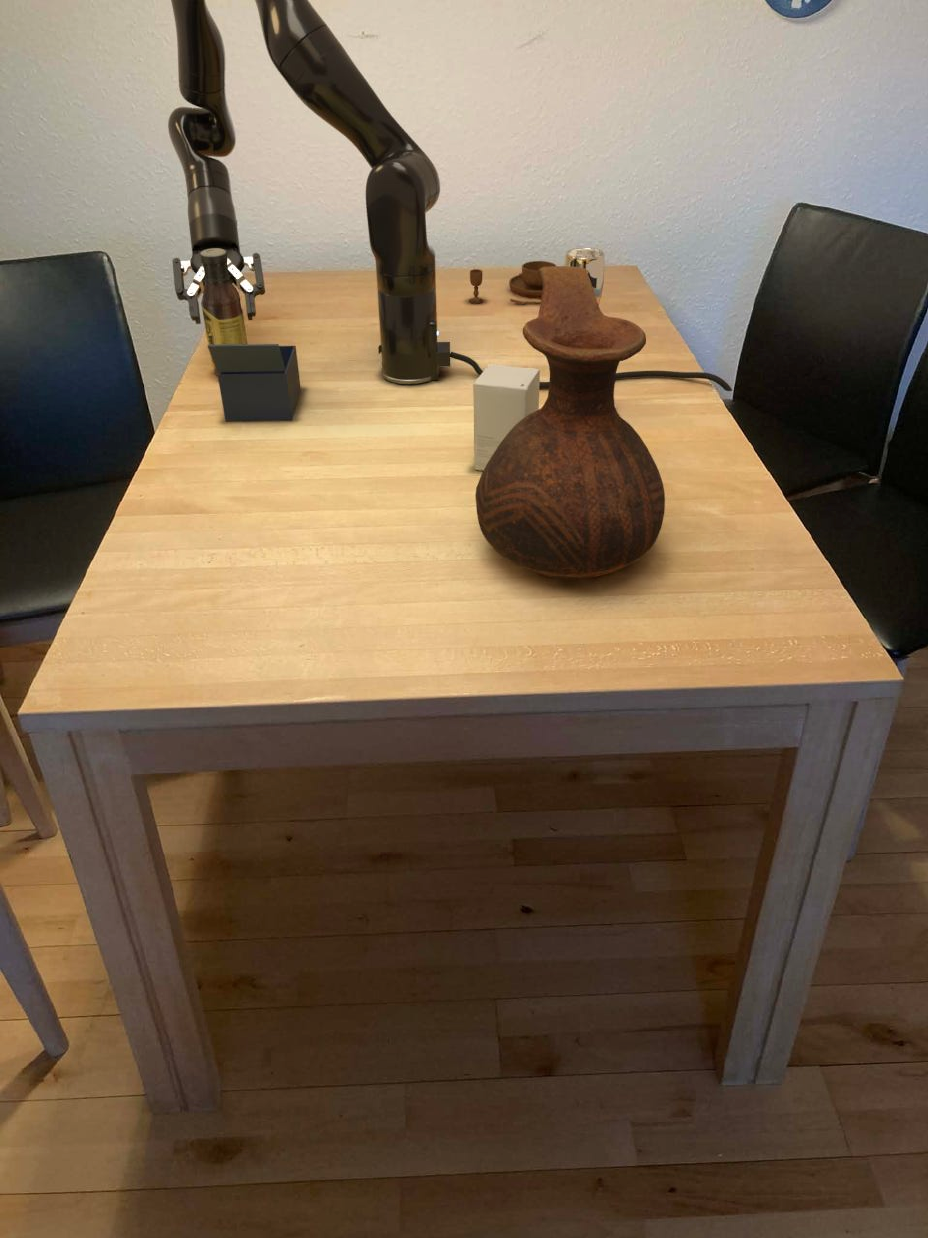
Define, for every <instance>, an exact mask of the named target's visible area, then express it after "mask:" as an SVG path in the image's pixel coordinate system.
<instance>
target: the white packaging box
mask: <svg viewBox="0 0 928 1238" xmlns="http://www.w3.org/2000/svg"><path fill="white" fill-rule="evenodd" d="M482 371H483V372H482V374H481V375H480V376H479V375H478V377H476V379H475V380H474V382H473V383H472V392H473V394H472V395H473V396H472V397H473V453H474V456H473V457H474V461H473V462H474V470H475V471H481V472H483V471H484V469H485V467H486V465H487V463H488V461H489V460H490V458H491V457H492V455H493V454H494V452H495V450H496V449H497V447H498V446H499V444H500V443H501V442H502V440H503V439H504V438H505V437H506V435H507V434H508V433H509V431H510V430H511V429H512V428H513V427H514V426H515V425H516V424H517V423H518V422H520V421H521V420H522V419H523V418H525V416H528V415H529V414H530V413H533V412H535V411H537V410H539V409H540V388H539V382H541V381H540V379H541V378H540V376H541V375H540V374H541V370H540V368H532V367H522V366H513V365H504V364H498V363H497V364H495V363H489V364H488V365H487V366H486V367H485V368H484V370H482Z"/></svg>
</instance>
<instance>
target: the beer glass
mask: <svg viewBox="0 0 928 1238" xmlns="http://www.w3.org/2000/svg"><path fill="white" fill-rule="evenodd" d="M564 259H565V260H564V266H569V267H582V268H585V269H586V271H587V273H588V275H589V278H590V281H591V284H592V287H593V290H594V293H595V297H596V300H597V303H598V306H599V307H600V303H601V302H600V301H601V298H602V293H603V288H604V281H605V252H604V250H601V249H598V248H593V247H575V248H571V249H568V250H566V251H565V258H564Z"/></svg>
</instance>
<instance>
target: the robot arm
mask: <svg viewBox="0 0 928 1238" xmlns="http://www.w3.org/2000/svg"><path fill="white" fill-rule="evenodd" d="M254 1H255V4H256V7H257V8H256V9H257V12H258V17H259V21H260V27H261V31H262V36H263V41H264V44H265V47H266V50H267V54H268V56H269V58H270V61H271V62H272V65H273V66H274V67H275V69H276V71H277V72H278V73H279V74H280V76H281V77H282V78H283V79H284V81H285V82H286V84H287V85H288V86H289V88H290V89H291V90H292V91H293V93H294V94H295V96H296V97H298V99H299V100H300V101H301V103H303V104H304V105H305V106H306V107H307V108H308V109H309V110H310V111H311V112H312V113H314V114H315V115H316V116H317V117H319V118H320V119H321V120H323V121H324V122H326V123H327V124H328V125H330V127H332V128H333V129H335V130H336V131H337V132H339V134H341V135H343V136H344V137H345V138H346V139H347V140H349V142H350V143H351V144H352V145H353V146H354V147H355V148H356V149H357V150H358V152H359V153H360V154H361V156H362V157H363V158H364V159H365V161H366V163H367V164H368V165H369V167H370V168H371V169H370V171H369V173H368V176H367V178H366V181H365V210H366V219H367V220H366V221H367V231H368V239H369V247H370V250H371V253H372V255H373V257H374V260H375V273H376V289H377V290H376V291H377V305H378V323H379V338H380V344H379V345H378V347H377V350H378V351H377V352H378V355H380V356H381V376H382V377H383V379H385V380H386V381H388V382H391V383H394V384H400V385H418V384H424V383H427V382H430V381H438V380H439V368H443V367H444V368H445V367H446V368H447V367H449V368H450V367H451V359H454V360H457V361H461V362H463V363H466V364H468V365H470V366H471V367H472V368H473V370H474V372H475V373H476V374H477V375H478V377H479V376H480V375H481V374H482V372H483V371H484V370H483V369H482V368H481V367H480V365H479V364H478V362H476V360H474V359H473V358H471V357H469V356H467V355H464V354H461V353H457V352H454V351H451V341H438V336H439V330H438V312H437V281H436V279H437V278H436V277H437V276H436V275H437V274H436V250H435V249H434V247H433V246H431V244H429V242H428V235H427V218H426V217H427V215H426V213H428V212H429V211H430V210H431V209H433V208H434V206H435V205H436V203H437V202H438V200H439V199H440V198H439V197H440V193H441V181H440V177H439V173H438V170H437V168H436V166H435V164H434V163H433V161H432V160H431V159H430V157H429V156H428V155H427V153H425V151H423V149H422V148H421V147H420V146H419V145H418V144H417V142H416V141H415V140H414V139H413V138H412V137H411V136H410V135H409V133H408V132H406V130H405V129H404V128H403V126H401V125H400V124H399V122H398V121H397V120H396V119H395V118H394V116H393V115H392V114H391V113H390V111H389V110H388V109H387V108H386V105H384V104H383V102H382V101H381V99H380V97H379V96H378V94H377V93H376V92H375V91H374V89H373V88H372V86H371V85H370V83H369V82H368V81H367V79H366V77H364V75H363V74H362V72H361V70H360V69H359V68H358V67H357V65H356V64H355V63H354V61H353V60H352V58H351V56H350V55H349V53H348V52H347V51H346V49H345V48H344V46H343V45H342V44H341V42H340V41H339V40H338V38H337V37H336V35H335V34H334V32H333V31H332V30H331V28H330V27H329V25H328V24H327V22H325V20H324V19H323V18H322V17H321V15H320V14H319V13H318V12H317V10H316V9H315V7H314V6H313V5H312V4H311V2H310V1H309V0H254ZM170 2H171V8H172V13H173V16H174V22H175V23H174V24H175V33H176V43H177V44H176V45H177V71H178V72H177V73H178V75H177V76H178V89H179V92H180V95H181V97H183V99H184V100H185V101H186V102H187V103H189V104H191V105H192V106H194V107H192V106H191V107H189V106H179V107H176V108H174V109H173V110H172V111H171V113H170V115H169V117H168V121H167V122H168V123H167V130H168V135H169V138H170V141H171V144H172V146H173V149H174V151H175V153H176V155H177V159H178V160H179V162H180V165H181V168H182V171H183V174H184V179H185V186H186V195H187V218H188V226H189V228H188V229H189V237H190V245H191V257H190V260H181V259H180V258H179V257H174V258H173V259H172V271H173V272H172V273H173V284H174V292H175V293H176V297H177V299H178V300H179V301H187V302H188V310H189V311H188V312H189V316H190V319H191V321H193V322H195V325H201V324H202V322H201V313H200V304H199V299H200V297H201V296H202V295H203V292H204V286H205V275H204V268H203V264H202V262H201V257H200V253H201V252H202V251H204V250H206V249H212V248H219V249H224V250H226V252H227V258H228V263H227V266H228V272H229V275H230V282H231V283H232V284H233V285H234V286H235V288H236V289H237V290H239V292H241V293H242V294H243V295H244V299H245V300H244V301H245V308H246V316H247V321H248V322H249V321H253V317H256V316H257V307H256V299H255V298H257V296H263V295H265V294H266V287H265V280H264V273H263V266H262V258H261V255H260V254H259V253H258V252H254V253H253V254H252V256H243V255H242V253H241V248H240V247H241V245H240V239H239V232H238V220H237V213H236V209H235V204H234V200H233V195H232V186H231V178H230V177H231V176H230V172H229V169H228V167H227V166H226V164H224V163H223V162H222V161H220V160H219V159H216V158H225V157H228V156H230V155H231V154H232V152H233V151H234V149H235V147H236V142H237V135H236V130H235V125H234V122H233V119H232V116H231V112H230V108H229V105H228V100H227V93H226V50H225V44H224V40H223V37H222V34H221V31H220V29H219V28H218V25H217V23H216V21H215V20H214V18H213V17H212V14H211V13H210V10H209V8H208V5H207V3H206V0H170ZM245 266H246V267H248V269H249V270H250V271H251V272H254V276H255V277H254V278H255V283H254V284H251V283H250V282H249V281H248V279H246V277H245V276H244V274H243V273H242V271H243V269H245ZM189 270H192V272H194V273H195V275H194V277H193V279H192V283H191V284H190V286H189V288H188V289H187V288H185V278H184V277H186V276H187V275H188V274H189V273H188V272H189ZM649 377H650V378H652V377H653V378H654V377H657V378H672V379H673V378H674V379H701V380H702V379H704V380H709V381H712V382H714V383H716V384H717V385H719V386H720V387H721V388H722V389H723V390H724V391H726V392H732V391H733V388H732V387H731V386H730V385H729V383H728V382H727V381H725V379H723V378H721V377H720V376H718V375H716V374H713V373H710V372H703V371H689V372H688V371H671V370H633V371H621V372H616V376H615V380H621V379H630V378H649ZM539 389H549V381H539Z"/></svg>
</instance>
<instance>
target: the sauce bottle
mask: <svg viewBox="0 0 928 1238" xmlns="http://www.w3.org/2000/svg"><path fill="white" fill-rule="evenodd" d="M200 257H201V262H202V264H203V268H204V275H205V286H204V292H203V293H202V298H201V303H200V304H201V311H202V316H203V322H204V328H205V333H206V334H205V335H206V339H207V346H208V345H237V344H249V343H248V338H247V332H246V331H247V330H246V325H245V324H246V323H245V318H244V311H243V308H242V303H241V296H240V292H239V291H238V288H237V287H236V286H235V285H234V284H232V283H231V282H230V275H229V272H228V266H227V263H228V258H227V252H226V250H224V249H219V248H212V249H206V250H204V251H202V252H201V253H200ZM209 356H210V361H211V367H212V368H213V372H214V374H215V376H217V377H218V374H219V372H217V370H216V368H215V365H214V362H213V360H212V357H211V354H210V353H209Z"/></svg>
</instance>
